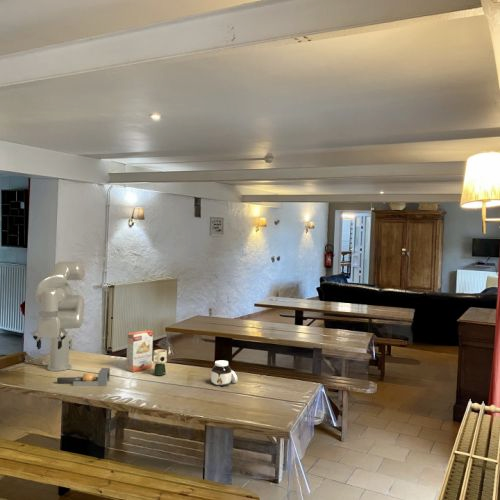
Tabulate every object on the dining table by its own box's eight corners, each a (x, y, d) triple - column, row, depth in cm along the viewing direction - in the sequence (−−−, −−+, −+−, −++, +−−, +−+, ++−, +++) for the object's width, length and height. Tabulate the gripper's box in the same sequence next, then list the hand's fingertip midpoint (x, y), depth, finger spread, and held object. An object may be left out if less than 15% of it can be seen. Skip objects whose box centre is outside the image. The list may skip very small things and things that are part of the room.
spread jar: (208, 384, 247) (209, 362, 247) (220, 379, 257) (220, 357, 257) (229, 389, 242) (229, 365, 241) (240, 383, 252) (240, 360, 251)
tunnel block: (72, 385, 240) (73, 373, 240) (77, 379, 250) (77, 368, 250) (106, 385, 242) (106, 373, 242) (109, 379, 252) (109, 367, 251)
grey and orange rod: (56, 384, 242) (56, 375, 242) (59, 381, 246) (59, 373, 246) (95, 384, 244) (95, 375, 244) (97, 381, 248) (97, 372, 248)
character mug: (158, 378, 256) (159, 353, 256) (148, 376, 259) (148, 352, 259) (171, 373, 266) (171, 349, 265) (160, 371, 269) (161, 348, 268)
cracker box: (133, 372, 265) (133, 334, 264) (125, 370, 268) (126, 333, 268) (152, 367, 276) (153, 331, 275) (145, 365, 279) (146, 329, 279)
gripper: (29, 315, 238) (28, 350, 238) (65, 315, 240) (65, 350, 240) (34, 313, 245) (33, 347, 246) (69, 313, 247) (69, 347, 248)
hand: (49, 348), depth 243 cm, fingers open, 9 cm apart
